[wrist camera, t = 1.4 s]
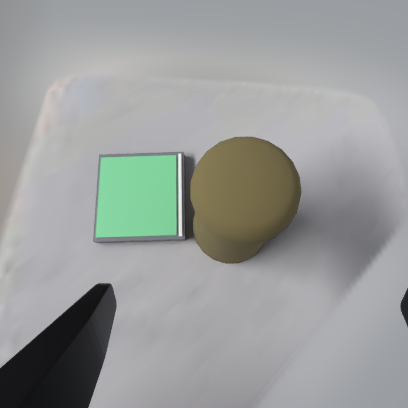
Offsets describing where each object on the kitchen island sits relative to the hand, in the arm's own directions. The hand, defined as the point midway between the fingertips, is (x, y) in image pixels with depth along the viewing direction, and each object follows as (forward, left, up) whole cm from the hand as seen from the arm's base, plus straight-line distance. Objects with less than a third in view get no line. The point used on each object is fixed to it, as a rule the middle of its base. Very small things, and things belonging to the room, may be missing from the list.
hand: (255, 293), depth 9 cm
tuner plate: (+7, +7, -13) cm, 16 cm away
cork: (+5, 0, -13) cm, 14 cm away
